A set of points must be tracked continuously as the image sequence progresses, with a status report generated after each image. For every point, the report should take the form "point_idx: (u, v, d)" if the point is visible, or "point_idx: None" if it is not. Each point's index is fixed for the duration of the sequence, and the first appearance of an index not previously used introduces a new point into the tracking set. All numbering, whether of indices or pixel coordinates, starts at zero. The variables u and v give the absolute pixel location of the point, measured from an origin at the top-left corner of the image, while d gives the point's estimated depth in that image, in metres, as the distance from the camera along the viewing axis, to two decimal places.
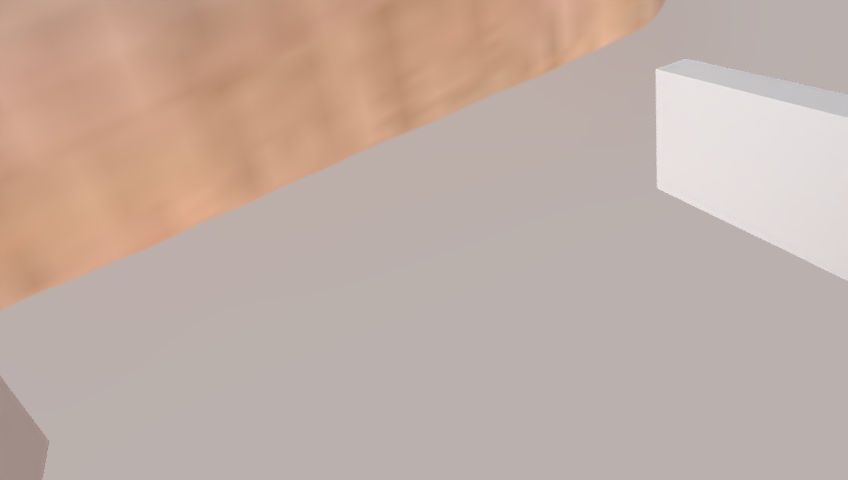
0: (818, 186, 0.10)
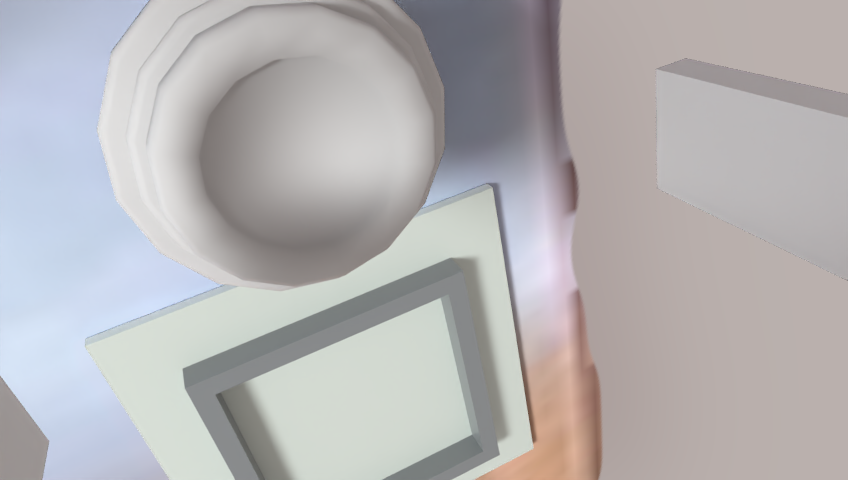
0: (818, 186, 0.10)
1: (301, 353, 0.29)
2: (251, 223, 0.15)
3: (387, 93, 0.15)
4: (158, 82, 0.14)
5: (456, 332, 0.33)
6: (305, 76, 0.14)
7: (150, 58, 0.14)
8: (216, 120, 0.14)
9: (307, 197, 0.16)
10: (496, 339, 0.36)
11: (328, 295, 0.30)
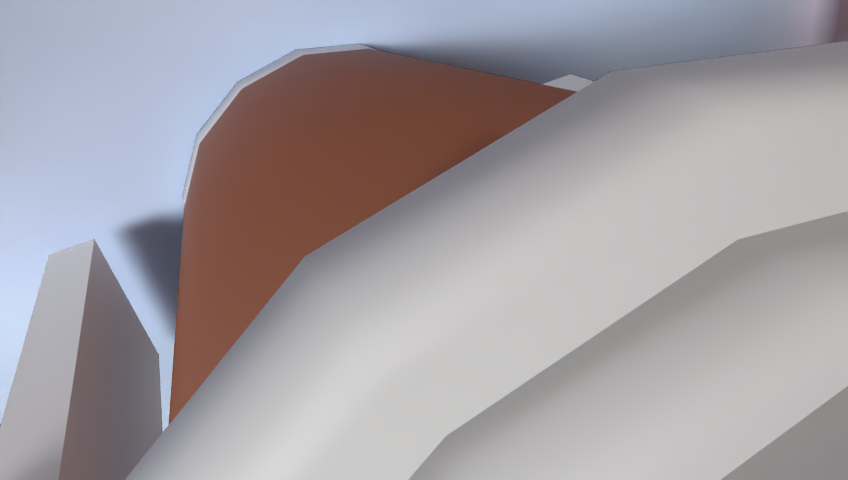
0: None
1: None
2: None
3: None
4: None
5: None
6: None
7: None
8: None
9: None
10: None
11: None
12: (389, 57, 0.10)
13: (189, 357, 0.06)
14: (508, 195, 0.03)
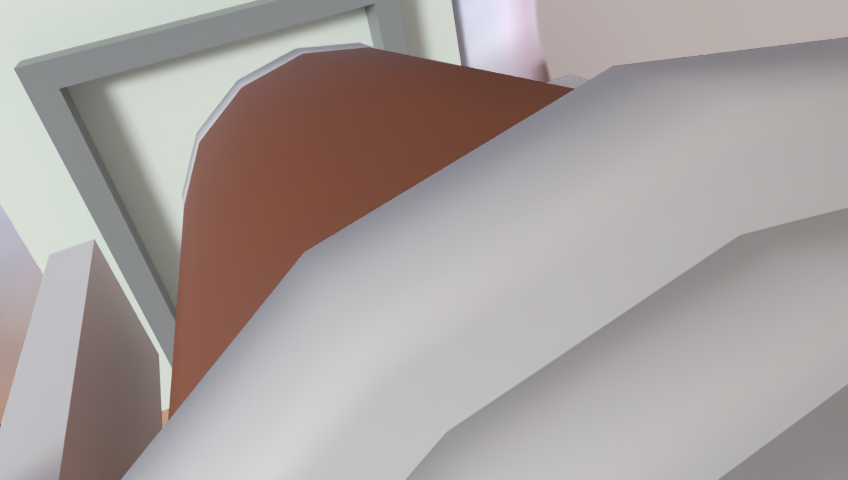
0: None
1: (177, 49, 0.23)
2: None
3: None
4: None
5: None
6: None
7: None
8: None
9: None
10: None
11: None
12: (389, 56, 0.10)
13: (188, 355, 0.06)
14: (509, 190, 0.03)
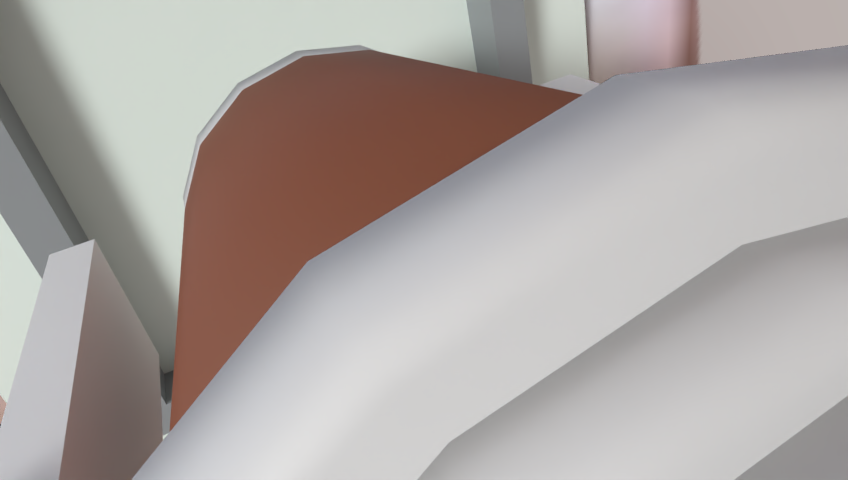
0: None
1: None
2: None
3: None
4: None
5: None
6: None
7: None
8: None
9: None
10: (551, 29, 0.19)
11: None
12: (390, 58, 0.10)
13: (190, 360, 0.06)
14: (512, 201, 0.03)
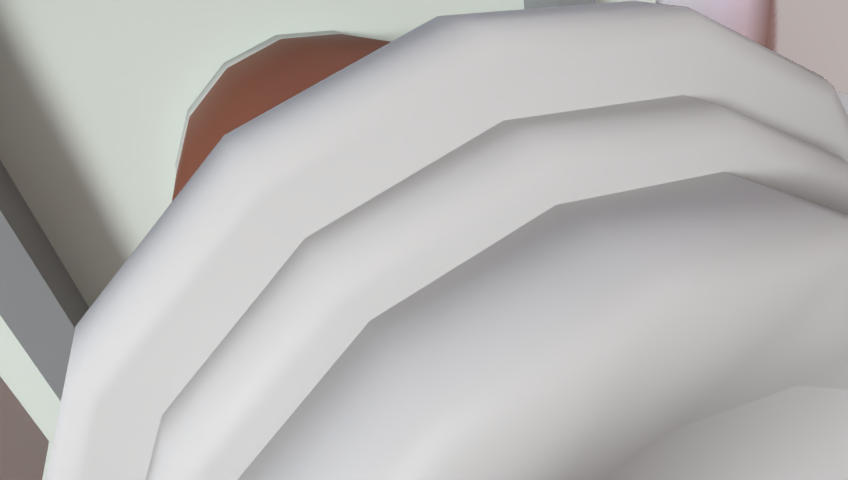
0: None
1: None
2: None
3: None
4: None
5: None
6: (717, 426, 0.04)
7: (206, 402, 0.04)
8: None
9: None
10: None
11: None
12: (352, 38, 0.11)
13: None
14: (348, 88, 0.04)
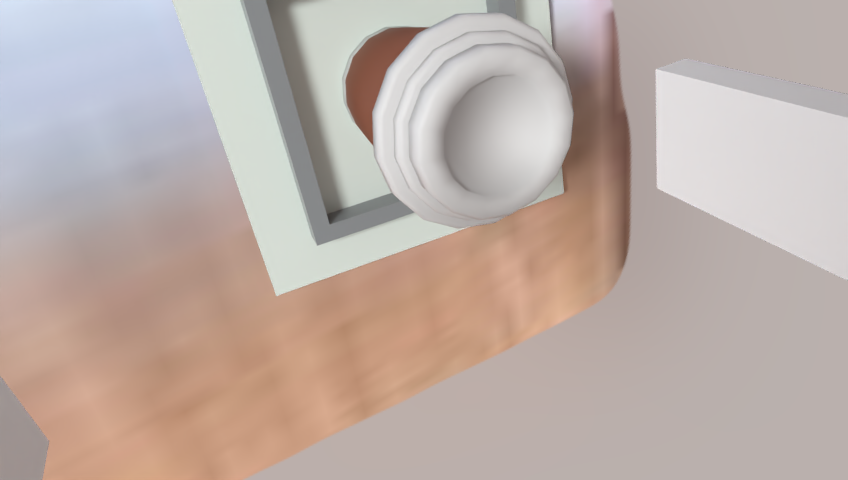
0: (818, 186, 0.10)
1: None
2: (461, 176, 0.25)
3: (549, 98, 0.24)
4: (421, 87, 0.23)
5: (497, 0, 0.33)
6: (504, 86, 0.24)
7: (417, 73, 0.23)
8: (454, 110, 0.23)
9: (494, 162, 0.25)
10: None
11: None
12: (420, 27, 0.31)
13: (379, 80, 0.27)
14: (440, 24, 0.24)
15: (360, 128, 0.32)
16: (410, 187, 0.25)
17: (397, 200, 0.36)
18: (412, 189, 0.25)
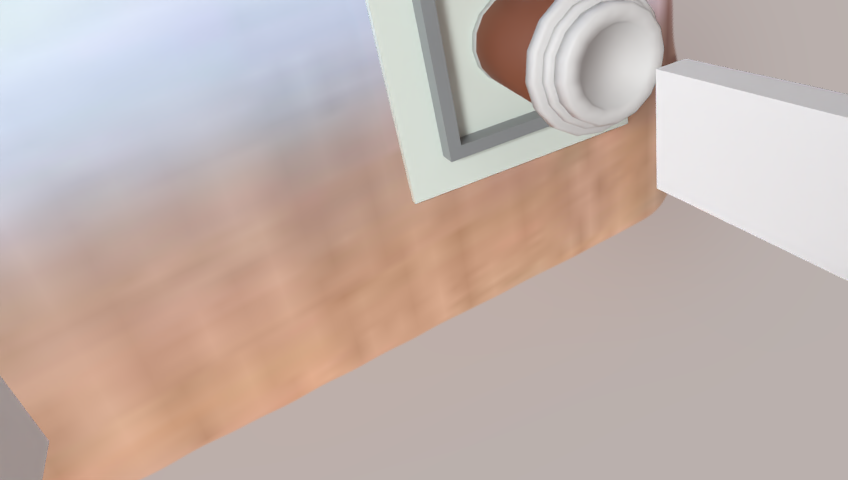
0: (818, 186, 0.10)
1: None
2: (588, 94, 0.36)
3: (649, 38, 0.35)
4: (565, 32, 0.34)
5: None
6: (620, 30, 0.35)
7: (563, 22, 0.34)
8: (587, 47, 0.34)
9: (610, 84, 0.36)
10: None
11: None
12: None
13: (522, 29, 0.37)
14: None
15: (489, 69, 0.43)
16: (551, 103, 0.36)
17: (509, 127, 0.47)
18: (553, 105, 0.36)
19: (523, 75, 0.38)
